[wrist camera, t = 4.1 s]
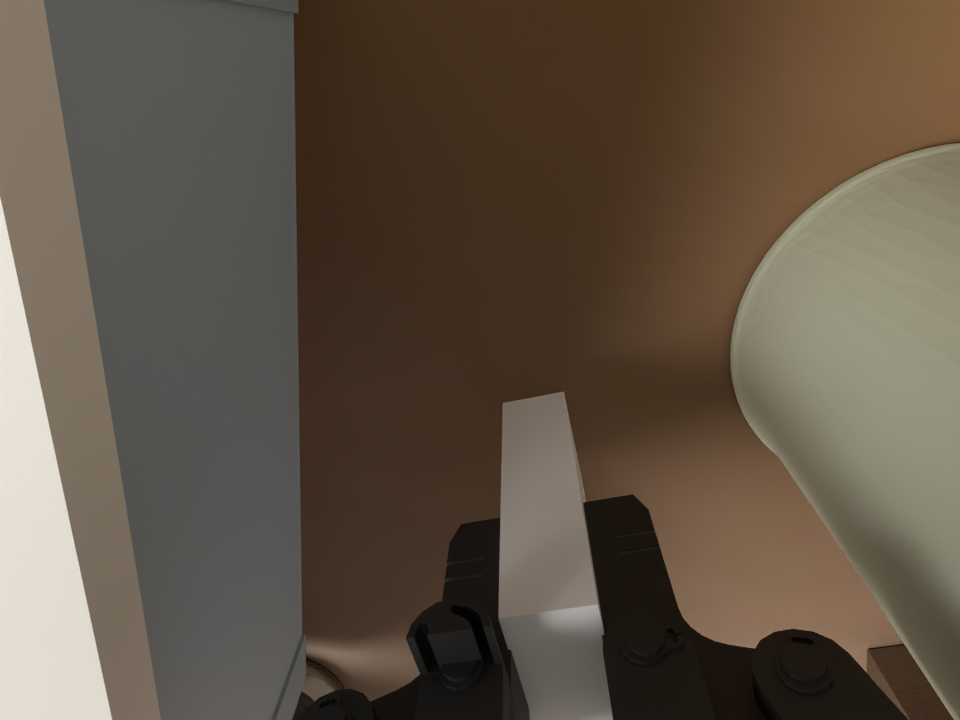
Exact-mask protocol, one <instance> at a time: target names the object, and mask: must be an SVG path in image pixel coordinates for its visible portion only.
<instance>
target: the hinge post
mask: <svg viewBox="0 0 960 720" xmlns="http://www.w3.org/2000/svg"><path fill="white" fill-rule="evenodd" d="M335 690H344V688H343V686H342V684H341V683H340V682H339V680H338V679H337V678H336V677H335V676H334V675H333V674H332V673H331V672H329V671H328V670H327V669H325V668H324V667H322V666H320V665H319V664H317V663H315V662H313V661H310V660H307V659H306V678H305V681H304V684H303V688H302V691H301V694H300V697H299V700H298V703H297V706H296V709H295V712H294V715H293V718H292V720H298V718H299V717H300V715H301V714H302V713H303V711H304V710H305V709H306V708H307V707H308V706H310V705H311V704H312V703H313V702H314V701H316V700H317V699H318V698H319V697H322V696H324V695H326V694H328V693H331V692H333V691H335Z"/></svg>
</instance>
